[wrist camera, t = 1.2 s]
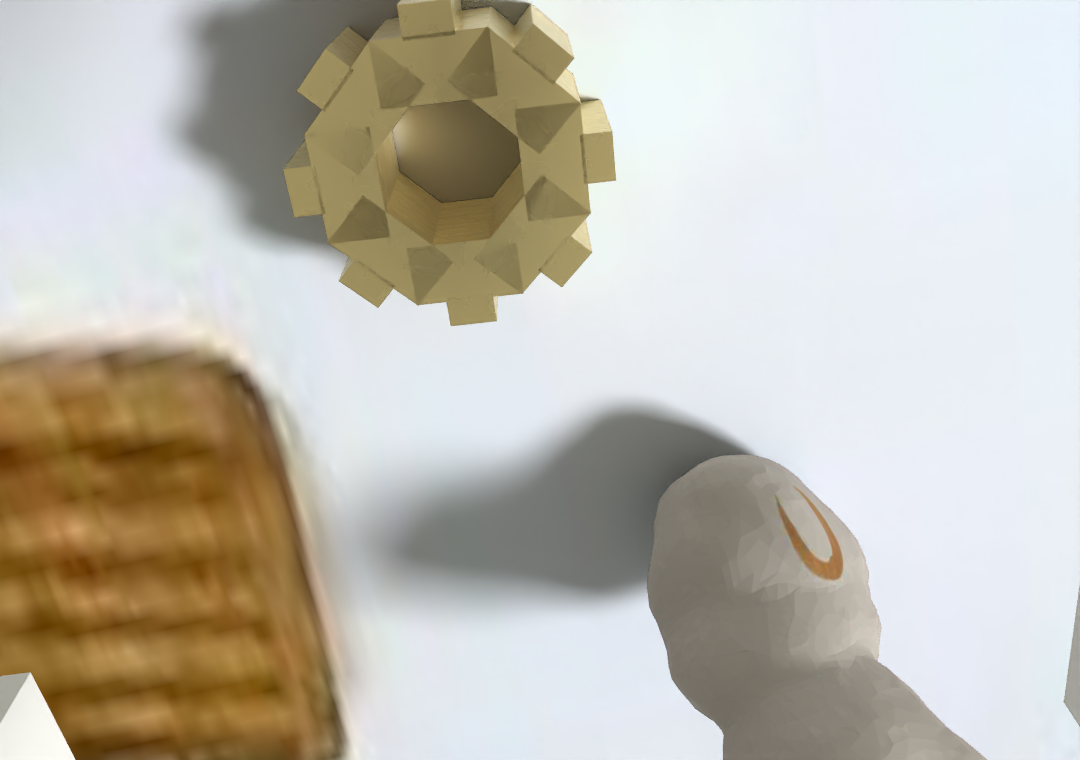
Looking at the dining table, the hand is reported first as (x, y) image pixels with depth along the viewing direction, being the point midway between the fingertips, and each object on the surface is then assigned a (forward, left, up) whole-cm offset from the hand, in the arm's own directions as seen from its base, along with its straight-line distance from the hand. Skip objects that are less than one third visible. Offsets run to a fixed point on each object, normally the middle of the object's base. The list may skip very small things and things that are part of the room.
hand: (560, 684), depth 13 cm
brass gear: (-2, +2, -22) cm, 22 cm away
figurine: (+7, -14, -22) cm, 27 cm away
